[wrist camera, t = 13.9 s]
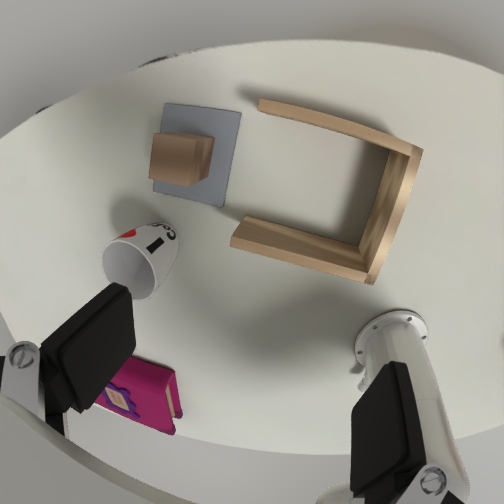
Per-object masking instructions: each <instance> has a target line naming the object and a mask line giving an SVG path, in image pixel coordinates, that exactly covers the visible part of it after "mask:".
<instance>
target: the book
mask: <svg viewBox="0 0 504 504" xmlns="http://www.w3.org/2000/svg"><path fill="white" fill-rule="evenodd" d="M94 403H97V404H99V405H101V406H103V407H105V408H107V409H109V410H111V411H113V412H115V413H118V414H120V415H122V416H124V417H126V418H129V419H131V420H133V421H136V422H138V423H141V424H143V425H146V426H148V427H151V428H154V429H156V430H158V431H160V432H163V433H166V434H168V435H174V434H175V431H176V429H175V425H174V424H173V420H172V418H173V417H174V418H178V419H181V418H182V416H183V413H182V409H181V406H180V400H179V394H178V389H177V383H176V376H175V371H172V370H169V369H166V368H163V367H160V366H157V365H154V364H151V363H148V362H145V361H142V360H139V359H136V358H134V357H131V356H130V357H129V358H128V359H127V361H126V362H125V363H124V364H123V366H122V367H121V368H120V370H119V371H118V372H117V373H116V375H115V376H114V377H113V378H112V380H111V381H110V382H109V384H108V385H107V386H106V387H105V389H104V390H103V391H102V393H101V394H100V395H99V396H98V398H97V399H96V400H95V402H94Z"/></svg>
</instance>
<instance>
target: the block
mask: <svg viewBox="0 0 504 504" xmlns="http://www.w3.org/2000/svg"><path fill="white" fill-rule="evenodd" d="M214 141H215V138H214V137H208V136H203V135H197V134H190V133H184V132H168V133H157V134H154V137H153V144H152V152H151V160H150V169H149V178H150V179H154V180H159V181H164V182H168V183H173V184H178V185H182V186H187V187H190V186H192V185H194V184H196V183H197V182H199V181H201V180H203V179H205V178H207V177H208V174H209V168H210V163H211V157H212V152H213V146H214Z"/></svg>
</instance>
